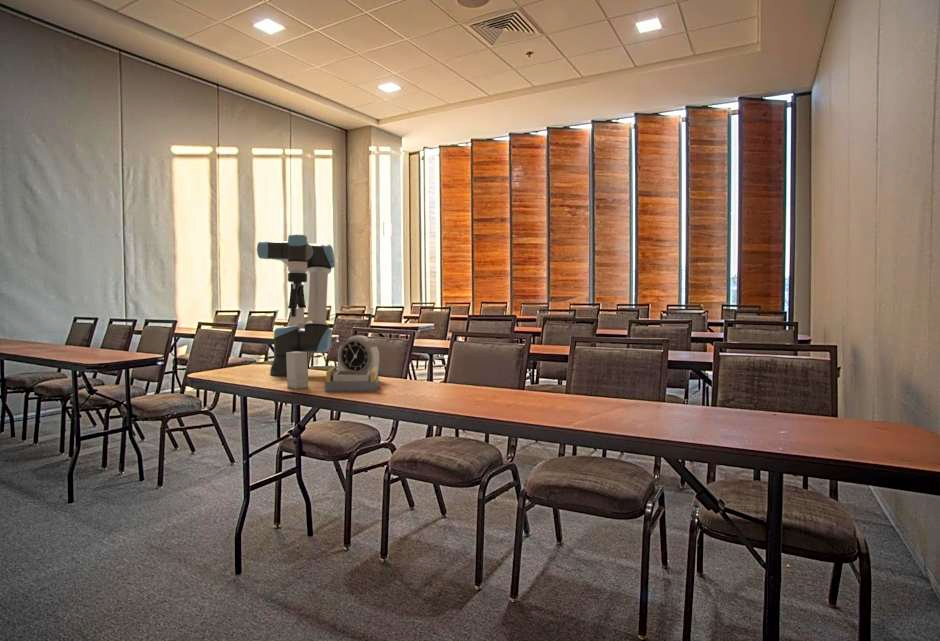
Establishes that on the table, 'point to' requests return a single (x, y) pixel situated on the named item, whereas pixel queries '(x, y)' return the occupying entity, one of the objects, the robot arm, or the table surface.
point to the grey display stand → (351, 381)
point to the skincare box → (297, 369)
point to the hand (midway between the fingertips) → (297, 324)
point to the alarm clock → (358, 355)
